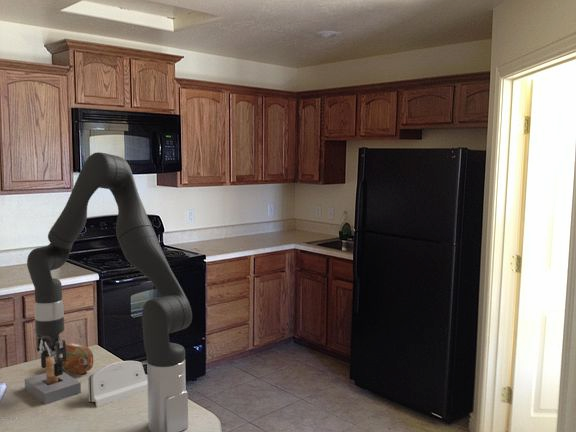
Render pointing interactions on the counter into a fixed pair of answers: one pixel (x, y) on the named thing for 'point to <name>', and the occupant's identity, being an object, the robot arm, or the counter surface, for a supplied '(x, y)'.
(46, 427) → the counter surface
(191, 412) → the counter surface
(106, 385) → the hinge
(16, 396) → the counter surface
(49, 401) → the hole block
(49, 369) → the peg
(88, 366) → the tin
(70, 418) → the counter surface
